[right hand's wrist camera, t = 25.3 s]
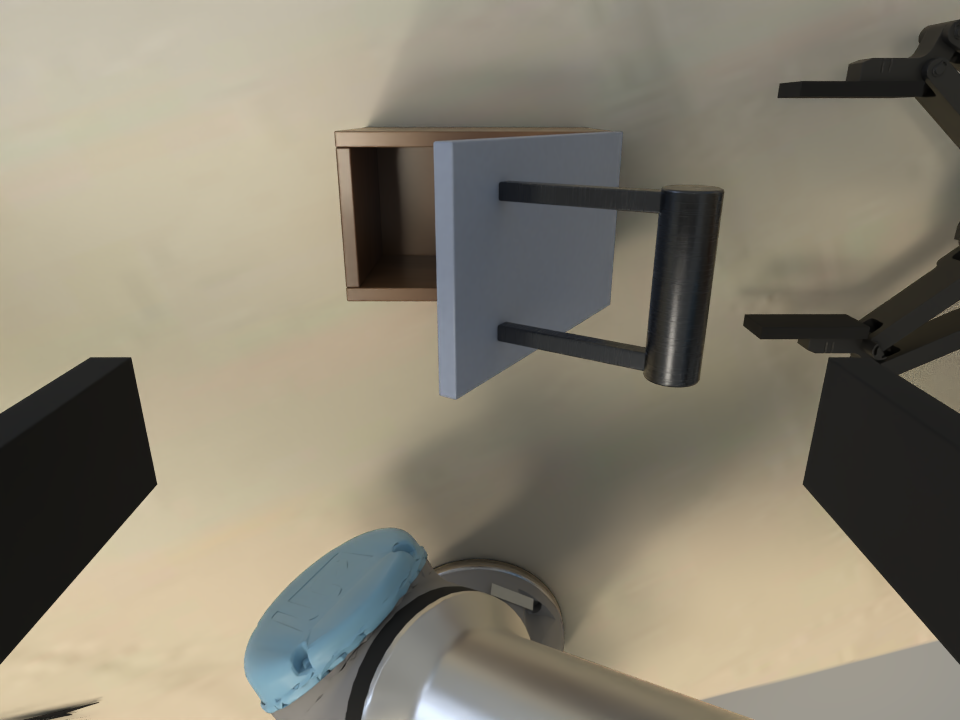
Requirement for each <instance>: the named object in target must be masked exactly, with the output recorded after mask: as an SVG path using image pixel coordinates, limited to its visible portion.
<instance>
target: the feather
mask: <svg viewBox="0 0 960 720" xmlns="http://www.w3.org/2000/svg"><path fill="white" fill-rule="evenodd" d="M97 703H99V702H97ZM93 704H96V703H92V704H88V705H84V706H80V707H76V708H71V709H67V710H63V711H59V712H54V713H50V714H46V715H42V716H38V717H33V718H29V719H25V720H51V719H54V718H59V717H64V716H69V715H72V714H70V713H69V714H67V713H68V712H71V711H74V710H77V709H80V708H83V707H87V706H90V705H93ZM74 713H75V712H74ZM80 718H81V717H80ZM67 720H68V719H67ZM86 720H87V719H86Z"/></svg>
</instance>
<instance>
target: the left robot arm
mask: <svg viewBox="0 0 960 720" xmlns="http://www.w3.org/2000/svg"><path fill="white" fill-rule="evenodd" d="M957 70H958V71H959V72H960V20H955V21H950V22H945V23H940V24H935V25H930V26H927V27H926V28H924V29H923V30H922V31H921V33H920V35H919V46H918V48H917V50H916V51H915V53H914V54H913V55H912V56H911V57H909V58H871V59H864V60H858V61H856V62H853V63H851V64H849V66H848V72H847V77H846V81H800V82H791V83H781V84H780V85H779V92H778V98H902V97H915V98H916V99H917V100H918V102H919V103H920V104H921V105H922V106H923V107H924V108H925V110H926V111H927V112H928V113H929V114H930V115H931V117H932V118H933V119H934V120H935V121H936V122H937V123H938V125H939V126H940V127H941V128H942V129H943V130H944V131H945V133H946V134H947V135H948V136H949V137H950V138H951V140H952V141H953V142H954V143H955V144H956V145H957V146H958V148H959V149H960V74H959V73H958V72H957ZM954 239H957V240H959V246H958V247H957V248H955V249H954V250H952V251H951V252H950V253H948V254H947V255H945V256H944V257H942V258H941V259H940V260H938V262H937V266H936V268H934V269H933V270H931V271H930V272H929V273H927V274H926V275H924V276H923V277H921V278H920V279H918V280H917V281H916V282H914V283H913V284H911V285H910V286H908V287H907V288H905V289H904V290H903V291H901V292H900V293H898V294H897V295H895V296H894V297H892V298H891V299H890V300H888V301H887V302H885V303H884V304H882V305H881V306H879V307H878V308H877V309H875V310H874V311H872V312H871V313H869V314H868V315H866V316H865V317H864V318H862V319H861V320H859V321H858V320H856V319H854V318H852V317H850V316H848V315H846V314H745V317H744V324H743V326H744V327H746V328H747V329H748V330H749V331H751V332H752V333H753V334H755V335H756V336H757V337H758V338H760V339H798V342H797V343H798V344H800V345H801V346H803V347H804V348H806V349H807V350H809V351H811V352H814V353H851V356H850V357H870V358H871V359H873V360H874V361H876V362H878V363H879V364H881V365H882V366H884V367H886V368H887V369H889V370H890V371H892V372H894V373H895V374H897V375H899V374H901V373H904V372H906V371H908V370H911V369H913V368H916V367H918V366H920V365H923V364H925V363H928V362H930V361H932V360H935V359H937V358H939V357H942V356H944V355H947V354H949V353H951V352H954V351H956V350H959V349H960V308H959V309H956V310H953V311H951V312H949V313H946V314H944V315H942V316H939V317H937V318H935V319H932V318H933V317H935V316H936V315H938V314H939V313H941V312H942V311H944V310H945V309H947V308H948V307H950V306H951V305H953V304H954V303H956V302H957V301H959V300H960V222H959V224H958V226H957V230H956V234H955V238H954ZM930 319H932V320H930ZM929 320H930V321H929ZM427 556H428V555H427V552H426V551H425V549H424V547H422V546H420V545H419V544H418V543H417V542H416V541H415V539H414V538H413V537H412V536H411V535H410V534H409V533H407V532H406V531H404V530H401V529H397V528H383V529H377V530H373V531H370V532H367V533H364V534H362V535H359V536H357V537H355V538H353V539H351V540H349V541H347V542H345V543H344V544H342V545H340V546H339V547H337V548H335V549H333V550H332V551H330V552H329V553H327V554H326V555H324V556H323V557H321V558H320V559H319V560H318V561H316V562H315V563H314V564H312V565H311V566H310V567H309V568H307V569H306V570H305V571H304V572H303V573H301V574H300V575H299V576H298V577H297V578H296V579H295V580H294V581H293V582H292V583H290V584H289V585H288V586H287V588H286V589H285V590H284V591H283V592H282V593H281V594H280V595H279V596H278V597H277V598H276V599H275V601H274V602H273V603H272V604H271V606H270V607H269V608H268V609H267V611H266V612H265V613H264V615H263V616H262V618H261V619H260V621H259V622H258V625H257V627H256V629H255V630H254V632H253V633H252V635H251V637H250V639H249V642H248V645H247V648H246V652H245V658H244V669H245V674H246V677H247V679H248V681H249V683H250V685H251V686H252V687H253V689H254V690H255V692H256V693H257V695H258V696H259V698H260V699H261V707H262V709H263V710H265V711H266V712H267V713H271V714H272V715H273V717H274V718H275V719H276V720H754V719H751V718H748V717H745V716H743V715H740V714H737V713H734V712H731V711H728V710H726V709H723V708H720V707H717V706H714V705H712V704H709V703H706V702H703V701H700V700H698V699H695V698H692V697H689V696H686V695H684V694H681V693H678V692H675V691H672V690H669V689H667V688H664V687H661V686H658V685H655V684H653V683H650V682H647V681H644V680H641V679H639V678H636V677H633V676H630V675H627V674H624V673H622V672H619V671H616V670H613V669H610V668H608V667H605V666H602V665H599V664H596V663H593V662H591V661H588V660H585V659H582V658H579V657H577V656H574V655H571V654H568V653H565V652H563V649H564V628H563V621H562V615H561V611H560V608H559V605H558V603H557V601H556V599H555V597H554V596H553V594H552V593H551V591H550V590H549V589H548V588H547V587H546V586H545V585H544V584H543V583H542V582H541V581H540V580H539V579H538V578H536V577H535V576H534V575H532V574H530V573H529V572H527V571H525V570H523V569H521V568H519V567H517V566H514V565H511V564H508V563H505V562H500V561H495V560H487V559H469V560H461V561H456V562H452V563H448V564H445V565H442V566H440V567H437V568H435V569H433V568H432V566H431V565H430V563H429V561H428V560H427Z"/></svg>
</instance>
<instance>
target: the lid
mask: <svg viewBox="0 0 960 720" xmlns="http://www.w3.org/2000/svg"><path fill="white" fill-rule="evenodd" d="M622 138H623V132H592V133H574V134H556V135H538V136H520V137H502V138H484V139H466V140H448V141H435V142H434V143H433V146H434V188H435V229H436V271H437V313H438V355H439V394H440V396H444V397H448V398H451V399H458V398H460V397H461V396H463V395H465V394H466V393H468V392H469V391H471V390H473V389H474V388H476V387H477V386H479V385H481V384H482V383H484V382H486V381H487V380H489V379H490V378H492V377H494V376H495V375H497V374H498V373H500V372H502V371H503V370H505V369H507V368H508V367H510V366H511V365H513V364H515V363H516V362H518V361H520V360H521V359H523V358H524V357H526V356H528V355H529V354H531V353H532V352H534V351H536V350H537V349H540V350H545V351H549V352H554V353H559V354H564V355H569V356H574V357H579V358H584V359H588V360H593V361H598V362H603V363H608V364H613V365H618V366H623V367H627V368H632V369H637V370H642V371H644V372H643V374H644V377H645V378H646V379H647V380H649V381H650V382H653V383H655V384H658V385H662V386H668V387H689V386H693V385H695V384H697V383H698V381H699V380H700V372H701V365H702V357H703V350H704V342H705V334H706V327H707V319H708V312H709V304H710V296H711V289H712V281H713V274H714V266H715V258H716V251H717V243H718V236H719V228H720V220H721V213H722V205H723V198H724V189H722V188H719V187H713V186H702V185H670V186H665V187H662V189H661V190H657V189H641V188H624V187H619V178H620V165H621V151H622ZM617 210H622V211H635V212H647V213H659V218H658V228H657V238H656V249H655V259H654V269H653V279H652V290H651V300H650V310H649V320H648V331H647V341H646V348H645V347H640V346H635V345H629V344H624V343H618V342H613V341H608V340H602V339H597V338H592V337H586V336H581V335H576V334H570V333H565V332H566V331H568V330H570V329H571V328H573V327H575V326H576V325H578V324H579V323H581V322H583V321H584V320H586V319H588V318H589V317H591V316H592V315H594V314H596V313H597V312H599V311H600V310H602V309H604V308H605V307H607V306H609V305H610V298H611V285H612V272H613V258H614V245H615V231H616V218H617Z"/></svg>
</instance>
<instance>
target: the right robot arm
mask: <svg viewBox="0 0 960 720" xmlns="http://www.w3.org/2000/svg"><path fill="white" fill-rule="evenodd" d="M156 485H157V481H156V476H155V471H154V466H153V461H152V457H151V452H150V447H149V442H148V437H147V432H146V427H145V422H144V418H143V413H142V408H141V403H140V398H139V393H138V388H137V383H136V379H135V374H134V369H133V364H132V359H131V357H90V358H89V359H87V360H86V361H84V362H82V363H81V364H79V365H78V366H76V367H74V368H73V369H71V370H70V371H68V372H66V373H65V374H63V375H62V376H60V377H58V378H57V379H55V380H54V381H52V382H50V383H49V384H47V385H46V386H44V387H42V388H41V389H39V390H38V391H36V392H34V393H33V394H31V395H30V396H28V397H26V398H25V399H23V400H22V401H20V402H18V403H17V404H15V405H14V406H12V407H10V408H9V409H7V410H6V411H4V412H2V413H1V414H0V664H1V663H2V662H3V661H4V660H5V658H6V657H7V656H8V655H9V654H10V653H11V652H12V650H13V649H14V648H15V647H16V646H17V645H18V644H19V642H20V641H21V640H22V639H23V638H24V637H25V635H26V634H27V633H28V632H29V631H30V630H31V629H32V627H33V626H34V625H35V624H36V623H37V622H38V621H39V619H40V618H41V617H42V616H43V615H44V614H45V613H46V611H47V610H48V609H49V608H50V607H51V606H52V605H53V603H54V602H55V601H56V600H57V599H58V598H59V596H60V595H61V594H62V593H63V592H64V591H65V590H66V588H67V587H68V586H69V585H70V584H71V583H72V582H73V580H74V579H75V578H76V577H77V576H78V575H79V574H80V572H81V571H82V570H83V569H84V568H85V567H86V565H87V564H88V563H89V562H90V561H91V560H92V559H93V557H94V556H95V555H96V554H97V553H98V552H99V551H100V549H101V548H102V547H103V546H104V545H105V544H106V543H107V541H108V540H109V539H110V538H111V537H112V536H113V535H114V533H115V532H116V531H117V530H118V529H119V528H120V526H121V525H122V524H123V523H124V522H125V521H126V520H127V518H128V517H129V516H130V515H131V514H132V513H133V512H134V510H135V509H136V508H137V507H138V506H139V505H140V504H141V502H142V501H143V500H144V499H145V498H146V497H147V496H148V494H149V493H150V492H151V491H152V490H153V489H154V487H155V486H156ZM803 485H804V486H805V487H806V489H807V490H808V491H809V492H810V493H811V494H812V496H813V497H814V498H815V499H816V500H817V501H818V502H819V504H820V505H821V506H822V507H823V508H824V509H825V510H826V512H827V513H828V514H829V515H830V516H831V517H832V518H833V520H834V521H835V522H836V523H837V524H838V525H839V526H840V528H841V529H842V530H843V531H844V532H845V533H846V535H847V536H848V537H849V538H850V539H851V540H852V541H853V543H854V544H855V545H856V546H857V547H858V548H859V549H860V551H861V552H862V553H863V554H864V555H865V556H866V557H867V559H868V560H869V561H870V562H871V563H872V564H873V566H874V567H875V568H876V569H877V570H878V571H879V572H880V574H881V575H882V576H883V577H884V578H885V579H886V580H887V582H888V583H889V584H890V585H891V586H892V587H893V588H894V590H895V591H896V592H897V593H898V594H899V595H900V596H901V598H902V599H903V600H904V601H905V602H906V603H907V605H908V606H909V607H910V608H911V609H912V610H913V611H914V613H915V614H916V615H917V616H918V617H919V618H920V619H921V621H922V622H923V623H924V624H925V625H926V626H927V627H928V629H929V630H930V631H931V632H932V633H933V634H934V635H935V637H936V638H937V639H938V640H939V641H940V642H941V643H942V645H943V646H944V647H945V648H946V649H947V650H948V652H949V653H950V654H951V655H952V656H953V657H954V658H955V660H956V661H957V662H958V663H959V664H960V414H959V413H958V412H956V411H954V410H953V409H951V408H950V407H948V406H946V405H945V404H943V403H942V402H940V401H938V400H937V399H935V398H934V397H932V396H930V395H929V394H927V393H926V392H924V391H922V390H921V389H919V388H918V387H916V386H914V385H913V384H911V383H910V382H908V381H906V380H905V379H903V378H902V377H900V376H898V375H897V374H895V373H894V372H892V371H890V370H889V369H887V368H886V367H884V366H882V365H881V364H879V363H878V362H876V361H874V360H873V359H871V358H870V357H829V359H828V364H827V369H826V374H825V379H824V383H823V388H822V393H821V398H820V403H819V408H818V413H817V418H816V422H815V427H814V432H813V437H812V442H811V447H810V452H809V457H808V461H807V466H806V471H805V476H804V481H803Z"/></svg>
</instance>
